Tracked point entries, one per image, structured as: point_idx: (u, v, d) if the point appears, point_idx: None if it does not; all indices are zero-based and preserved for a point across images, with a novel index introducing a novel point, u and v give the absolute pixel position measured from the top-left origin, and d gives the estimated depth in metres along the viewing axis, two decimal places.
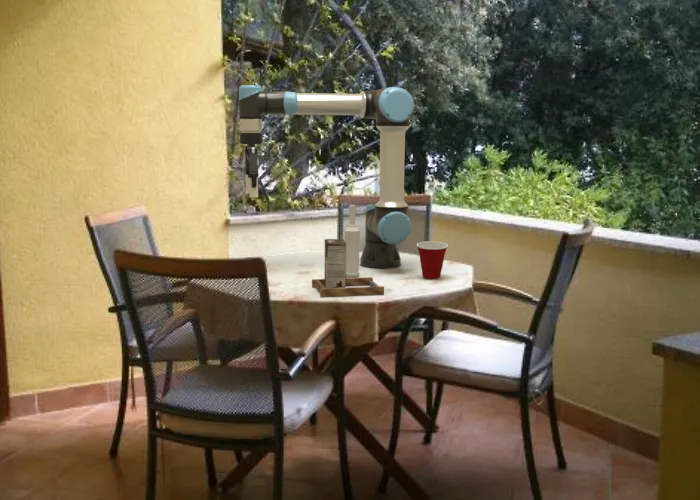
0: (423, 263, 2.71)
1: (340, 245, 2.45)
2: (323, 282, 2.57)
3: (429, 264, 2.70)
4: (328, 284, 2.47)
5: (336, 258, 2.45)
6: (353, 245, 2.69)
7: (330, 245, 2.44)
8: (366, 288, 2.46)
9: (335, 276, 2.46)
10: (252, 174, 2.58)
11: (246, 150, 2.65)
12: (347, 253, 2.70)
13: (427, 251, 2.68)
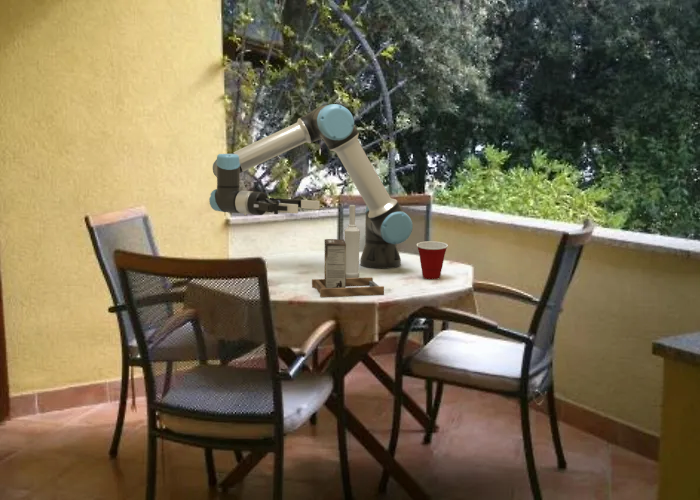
0: (423, 263, 2.71)
1: (340, 245, 2.45)
2: (323, 282, 2.57)
3: (429, 264, 2.70)
4: (328, 284, 2.47)
5: (336, 258, 2.45)
6: (353, 245, 2.69)
7: (330, 245, 2.44)
8: (366, 288, 2.46)
9: (335, 276, 2.46)
10: (270, 210, 2.47)
11: None
12: (347, 253, 2.70)
13: (427, 251, 2.68)
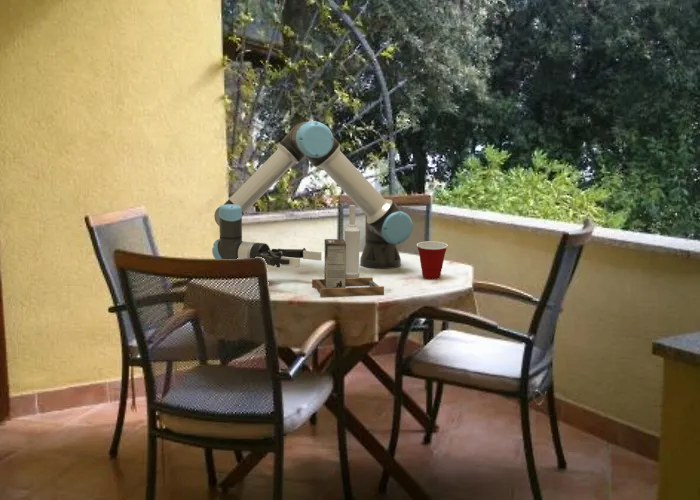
0: (423, 263, 2.71)
1: (340, 245, 2.45)
2: (323, 282, 2.57)
3: (429, 264, 2.70)
4: (328, 284, 2.47)
5: (336, 258, 2.45)
6: (353, 245, 2.69)
7: (330, 245, 2.44)
8: (366, 288, 2.46)
9: (335, 276, 2.46)
10: (272, 264, 2.49)
11: None
12: (347, 253, 2.70)
13: (427, 251, 2.68)
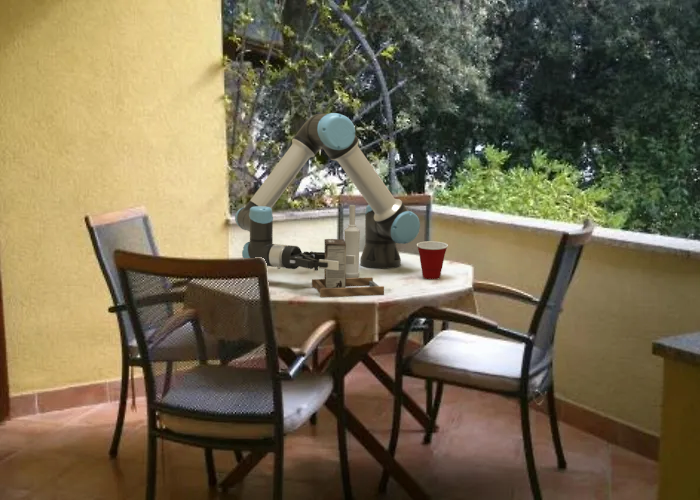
0: (423, 263, 2.71)
1: (340, 245, 2.45)
2: (323, 282, 2.57)
3: (429, 264, 2.70)
4: (328, 284, 2.47)
5: (336, 258, 2.45)
6: (353, 245, 2.69)
7: (330, 245, 2.44)
8: (366, 288, 2.46)
9: (335, 276, 2.46)
10: (310, 267, 2.44)
11: None
12: (347, 253, 2.70)
13: (427, 251, 2.68)
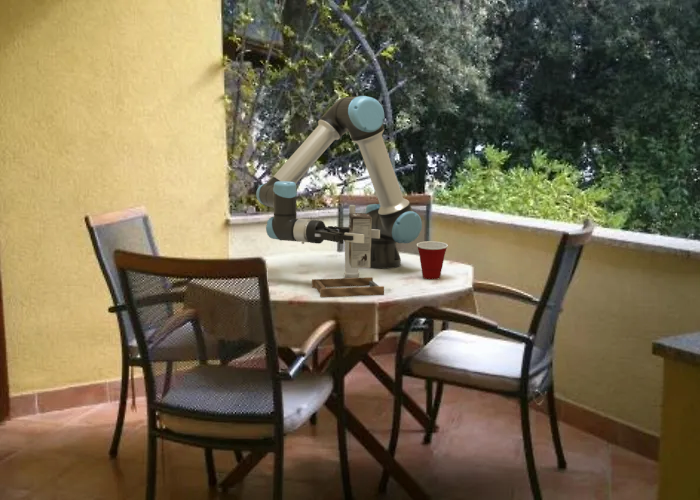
0: (423, 263, 2.71)
1: (365, 218, 2.45)
2: (323, 282, 2.57)
3: (429, 264, 2.70)
4: (353, 257, 2.47)
5: (362, 231, 2.46)
6: None
7: (355, 218, 2.45)
8: (366, 288, 2.46)
9: (361, 249, 2.47)
10: (336, 240, 2.44)
11: None
12: (347, 253, 2.70)
13: (427, 251, 2.68)
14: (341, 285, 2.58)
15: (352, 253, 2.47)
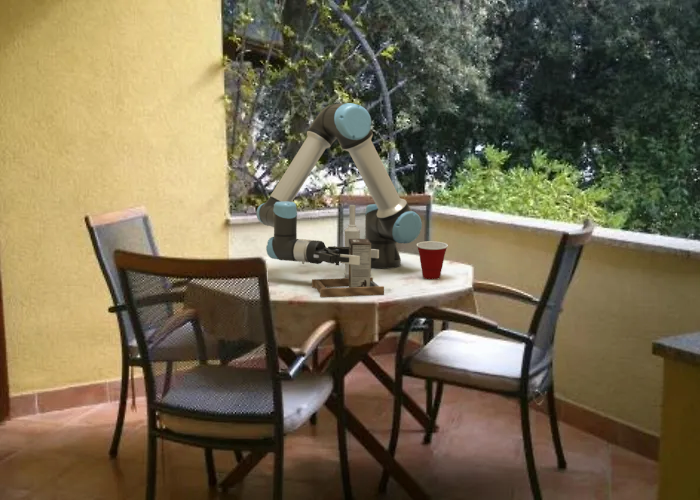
0: (423, 263, 2.71)
1: (365, 244, 2.46)
2: (323, 282, 2.57)
3: (429, 264, 2.70)
4: (353, 283, 2.48)
5: (361, 257, 2.47)
6: None
7: (355, 244, 2.46)
8: (366, 288, 2.46)
9: (360, 275, 2.48)
10: (332, 262, 2.45)
11: None
12: None
13: (427, 251, 2.68)
14: (341, 285, 2.58)
15: (352, 279, 2.48)
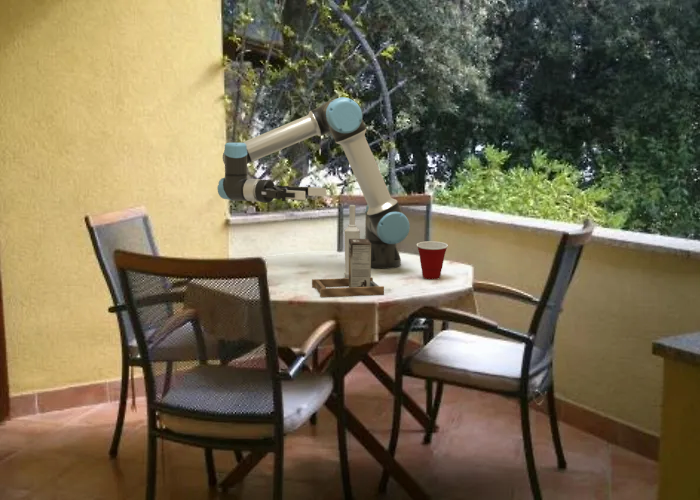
0: (423, 263, 2.71)
1: (365, 244, 2.46)
2: (323, 282, 2.57)
3: (429, 264, 2.70)
4: (353, 283, 2.48)
5: (361, 257, 2.47)
6: None
7: (355, 244, 2.46)
8: (366, 288, 2.46)
9: (360, 275, 2.48)
10: (278, 197, 2.50)
11: None
12: (347, 253, 2.70)
13: (427, 251, 2.68)
14: (341, 285, 2.58)
15: (352, 279, 2.48)
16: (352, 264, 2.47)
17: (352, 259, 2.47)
